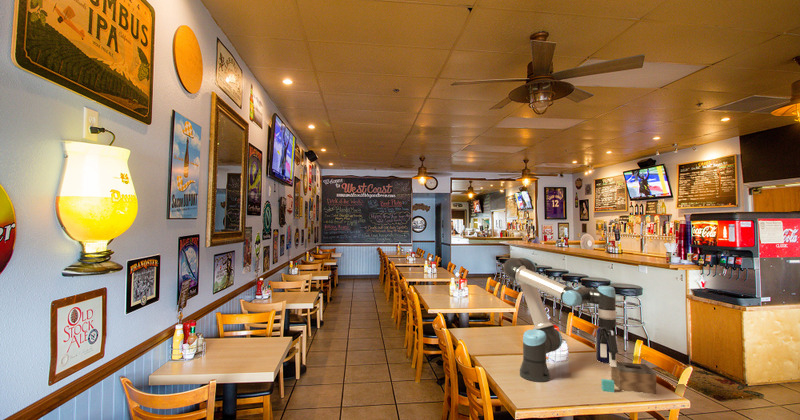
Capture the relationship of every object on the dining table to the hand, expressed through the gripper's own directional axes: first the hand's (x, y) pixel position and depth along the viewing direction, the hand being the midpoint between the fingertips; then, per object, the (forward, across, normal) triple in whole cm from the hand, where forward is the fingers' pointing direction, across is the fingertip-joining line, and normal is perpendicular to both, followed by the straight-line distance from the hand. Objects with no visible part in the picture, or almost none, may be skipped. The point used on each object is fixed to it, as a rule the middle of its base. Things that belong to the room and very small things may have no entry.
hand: (608, 361), depth 180 cm
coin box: (+14, +8, -14) cm, 21 cm away
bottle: (+14, +46, -12) cm, 50 cm away
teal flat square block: (+14, 0, 0) cm, 14 cm away
